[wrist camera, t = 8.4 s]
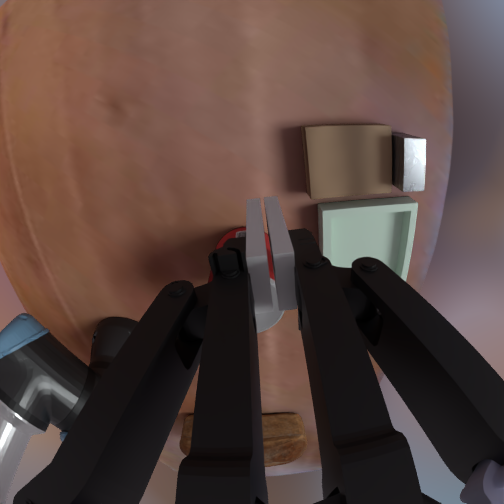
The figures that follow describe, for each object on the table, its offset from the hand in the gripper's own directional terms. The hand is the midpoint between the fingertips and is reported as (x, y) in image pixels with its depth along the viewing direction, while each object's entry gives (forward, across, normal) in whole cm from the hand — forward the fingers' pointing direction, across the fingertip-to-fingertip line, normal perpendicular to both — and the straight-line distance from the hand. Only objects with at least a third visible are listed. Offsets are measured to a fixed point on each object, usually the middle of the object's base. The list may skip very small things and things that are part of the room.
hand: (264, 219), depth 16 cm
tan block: (+16, +10, 0) cm, 19 cm away
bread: (+17, -11, -60) cm, 63 cm away
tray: (+16, +13, -12) cm, 24 cm away
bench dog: (+16, +17, 0) cm, 23 cm away
